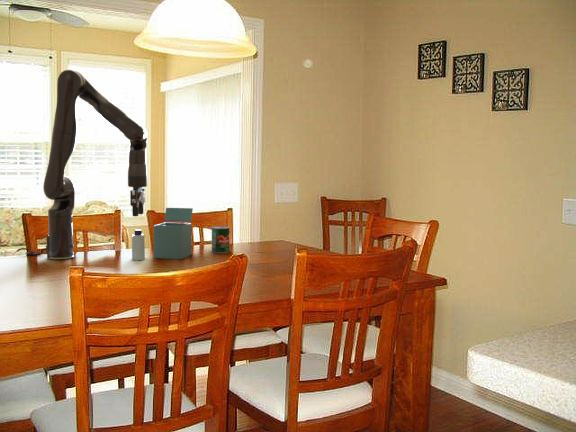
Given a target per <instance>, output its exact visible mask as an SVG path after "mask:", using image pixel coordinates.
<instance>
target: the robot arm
mask: <svg viewBox="0 0 576 432" xmlns="http://www.w3.org/2000/svg"><path fill="white" fill-rule="evenodd" d="M56 81H57V83H56V84H57V85H56V106H55V113H54V119H53V126H52V133H51V140H50V149H49V156H48V163H47V168H46V172H45V176H44V181H43V186H42V188H43V193H44V195H45V197H46V199H49V200H51V201H53V204H52V205H51V207H49V209H47V221H48V223H47V224H48V225H47V227H48V234H47V235H46V244H45V247H44V248H42V249H41V250H40V252H38V253H35V250H33V249H31V250H32V252H31V251H28V250H27V247H20V248H18V249H17V250H16V251H15V252H16V253H18V252H20V251H23V250H24V251H28V252H26V253H25V255H27V256H42V255H43V253H44V251H45V253H46V259H48V260H53V261H54V260H55V261H59V260H61V261H63V260H70V259H73V258H74V257H75V255H74V246H75V244H74V222H73V221H74V220H73V214H74V213H73V212H74V209H75V202H76V201H75V195H76V190H75V189H76V188H75V184H74V181H73V180H72V178H70V177H69V176H66V175H65V172H66V171H65V170H66V167H67V164H68V162H69V160H70V158H71V156H72V154H73V153H74V151H75V148H76V145H77V139H78V132H79V128H78V127H79V126H78V119H77V108H76V107H77V101H78V98H79V99H81V100H82V101H84V102H85V103H87V104H88V105H89V106H90V107H92V108H93V110H94V111H95V112H96V113H97V114H98V115H99V116H100V117H101V118H102V119H104V120H105V121H106V122H107V123H108V124H110V125H111V126H112V127H113V128H115V129H117V130H118V131H119V132H120V133H121V134H122V135H123V136H124V137H125V138H126V139H128V140H129V150H128V152H127V155H128V157H127V163H128V164H127V187H129V188H132V189H131V190H130V191H129V193H130V194H129V195H130V197H129V198H130V203H129V205H130V206H131V208H132V210H131V211H132V213H131V214H132V216H133V217H139V215H144V205H145V203H146V193H145V192H146V190H145V188H147V187H148V167H147V145H148V132H147V130H146V128H145V127H144V126H143V125H140V124H138V123H137V122H136V121H134V120H133V119H131V118H130V116H128V114H127V113H126V112H125V111H123V110H122V109H121V108H120V107H118V106H117V105H115V104H114V103H113V102H112V101H110V100H109V99H108V98H107V97H105V96H104V95H103V94H102V93H101V92H99V91H98V90H97V89H96V88H95V87H94V86H93V85H92V84H91V83H90V82H89V80H88V79H87V78H86V77H85V76H84V75H83V74H82V73H81V72H79V71H77V70H73V69H65V70H63V71H61V72H60V74H59V75H58V77H57V80H56Z"/></svg>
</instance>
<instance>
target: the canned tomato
mask: <svg viewBox="0 0 576 432" xmlns="http://www.w3.org/2000/svg"><path fill="white" fill-rule="evenodd" d="M230 228H231V227H230V226H227V225H217V226H211V253H212V254H228V253H230Z"/></svg>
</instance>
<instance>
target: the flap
mask: <svg viewBox="0 0 576 432" xmlns="http://www.w3.org/2000/svg"><path fill="white" fill-rule="evenodd" d="M193 211H194V209H193V208H192V207H191V208H190V207H165V213H164V222H181V223H191V222H192V218H193Z"/></svg>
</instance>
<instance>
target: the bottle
mask: <svg viewBox="0 0 576 432" xmlns="http://www.w3.org/2000/svg"><path fill="white" fill-rule="evenodd" d="M142 230H143V229H134V234H132V235H131V260H132V261H143V260H145V259H146V247H145V246H146V245H145V243H146V241H145V238H146V237H145V234H144V233H143V231H142Z"/></svg>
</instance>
